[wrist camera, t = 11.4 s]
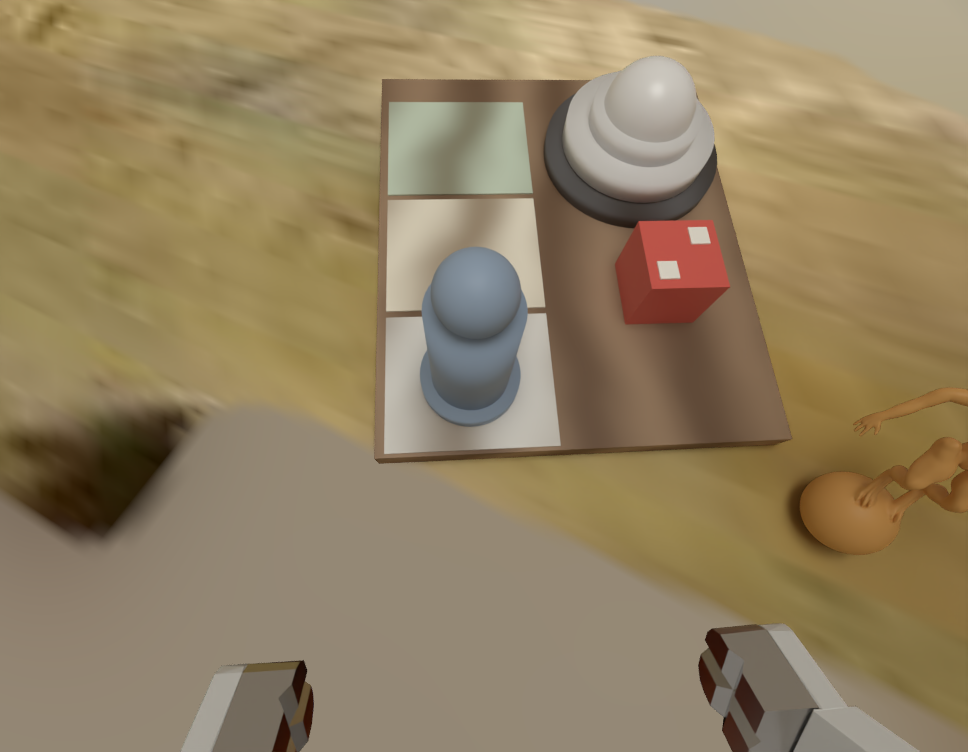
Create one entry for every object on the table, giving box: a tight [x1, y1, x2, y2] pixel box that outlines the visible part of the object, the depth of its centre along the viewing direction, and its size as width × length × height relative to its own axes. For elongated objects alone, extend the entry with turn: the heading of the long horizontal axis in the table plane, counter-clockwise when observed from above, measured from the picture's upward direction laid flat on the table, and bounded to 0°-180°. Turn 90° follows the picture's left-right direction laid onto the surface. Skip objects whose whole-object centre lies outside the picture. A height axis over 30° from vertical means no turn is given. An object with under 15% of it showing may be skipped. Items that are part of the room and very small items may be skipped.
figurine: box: [800, 388, 968, 555], centre depth 20 cm, size 8×6×12 cm
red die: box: [615, 220, 730, 324], centre depth 26 cm, size 4×4×4 cm
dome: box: [562, 56, 714, 203], centre depth 28 cm, size 9×9×5 cm
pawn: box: [420, 247, 528, 427], centre depth 20 cm, size 5×5×11 cm
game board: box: [374, 79, 792, 464], centre depth 29 cm, size 22×26×2 cm
